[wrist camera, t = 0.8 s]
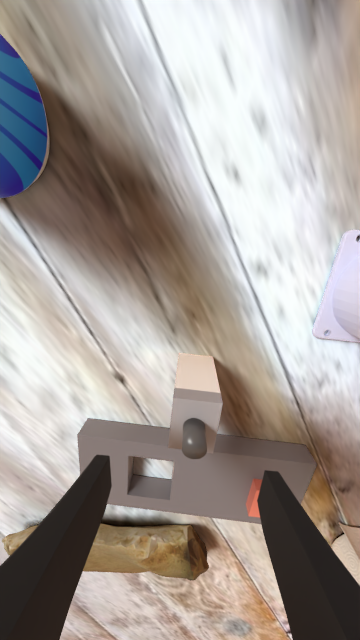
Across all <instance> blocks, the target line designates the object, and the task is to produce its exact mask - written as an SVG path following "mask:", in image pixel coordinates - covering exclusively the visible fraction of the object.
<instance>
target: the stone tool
mask: <svg viewBox="0 0 360 640" xmlns="http://www.w3.org/2000/svg"><path fill="white" fill-rule="evenodd" d="M37 526H38V525H36V526H32V527H29V528H27V529H25V530H23V531H21V532H18V533H14V534H10V535H8V536H6V537H5V538H3V539H2V542H3V543H4V549H5V550H6V552H7V553H8V554H9V555H11V554H12V553H13V552H14V551H15V550H16V549H17V548H18V547H19V546H20V545H21V544H22V543H23V542H24V541H25V540H26V538H27V537H28V536H29V535H30V534H31V533H32V532H33V531H34V530H35V528H36V527H37ZM208 568H209V565H208V563H207V550H206V547H205V544H204V543H203V542H202V541H201V539H200V538H199V536H198V535H197V533H196V532H195V530H194V529H193V527H192V526H191V525H186V526H185V525H160V526H140V527H121V526H111V525H106V524H100V526H99V529H98V532H97V534H96V537H95V540H94V542H93V545H92V548H91V550H90V553H89V555H88V558H87V561H86V563H85V566H84V569H83V571H88V572H89V571H92V572H93V571H97V572H119V573H141V572H147V571H151V572H153V573H155V574H158V575H160V576H165V577H175V578H186V579H189V580H195V579H196V578H197V577H198V576H199V575H200V574H202V573H204V572H206V571H207V569H208Z"/></svg>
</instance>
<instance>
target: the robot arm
mask: <svg viewBox="0 0 360 640" xmlns="http://www.w3.org/2000/svg"><path fill="white" fill-rule="evenodd" d="M358 235H359V236H360V230H349V231H347V232H345V233H344V234H343V236H342V239H341V242H340V245H339V248H338V251H337V254H336V257H335V261H334V264H333V267H332V270H331V273H330V276H329V279H328V282H327V286H326V289H325V292H324V295H323V298H322V301H321V304H320V308H319V311H318V314H317V317H316V320H315V323H314V326H313V330H312V334H313V335H314V336H315V337H317V338H323V339H332V340H341V341H350V342H359V343H360V239H359V241H358V242H357V241H356V238H357V236H358ZM326 330H328V332H327V333H326V334H324V332H325V331H326ZM111 487H112V482H111V468H110V456H107V455H96V456H94V458H93V459H92V461H91V462H90V463H89V465H88V466H87V467H86V468H85V470H84V471H83V472H82V474H81V475H80V476H79V478H78V479H77V480H76V481H75V483H74V484H73V485H72V486H71V488H70V489H69V490H68V491H67V492H66V494H65V495H64V496H63V497H62V498H61V500H60V501H59V502H58V503H57V504H56V506H55V507H54V508H53V509H52V510H51V512H50V513H49V514H48V515H47V516H46V517H45V518H44V519H43V521H42V522H41V523H40V524H39V525H38V526H37V527H36V528H35V530H34V531H33V532H32V533H31V534H30V535H29V536H28V537H27V538H26V540H25V541H24V542H23V543H22V544H21V545H20V546H19V547H18V548H17V549H16V550H15V551H14V552H13V553H12V554H11V555H10V556H9V558H8V559H7V560H6V561H5V562H4V563H3V564H2V565H1V566H0V640H59V639H60V636H61V632H62V629H63V626H64V623H65V620H66V616H67V613H68V610H69V607H70V604H71V601H72V599H73V596H74V593H75V590H76V587H77V585H78V582H79V579H80V577H81V574H82V571H83V569H84V566H85V563H86V561H87V558H88V555H89V553H90V550H91V548H92V545H93V542H94V540H95V537H96V534H97V532H98V529H99V526H100V524H101V521H102V518H103V515H104V512H105V509H106V505H107V502H108V498H109V495H110V491H111ZM257 503H258V508H259V514H260V519H261V524H262V529H263V533H264V537H265V540H266V544H267V548H268V551H269V555H270V558H271V562H272V565H273V569H274V572H275V576H276V579H277V583H278V586H279V590H280V593H281V597H282V600H283V604H284V607H285V611H286V614H287V618H288V622H289V626H290V630H291V634H292V638H293V640H360V585H359V584H358V582H357V581H356V580H355V579H354V577H353V576H352V575H351V573H350V572H349V571H348V570H347V568H346V567H345V566H344V564H343V563H342V562H341V560H340V559H339V558H338V556H337V555H336V554H335V552H334V551H333V550H332V548H331V547H330V546H329V544H328V543H327V541H326V540H325V539H324V537H323V536H322V534H321V533H320V532H319V530H318V529H317V527H316V526H315V525H314V523H313V522H312V520H311V519H310V517H309V516H308V515H307V513H306V512H305V510H304V509H303V507H302V506H301V504H300V503H299V501H298V500H297V498H296V497H295V495H294V494H293V492H292V491H291V489H290V488H289V486H288V485H287V483H286V482H285V480H284V479H283V477H282V476H281V474H280V473H279V472H278V471H268V470H265V471H264V475H263V479H262V483H261V487H260V491H259V495H258V499H257Z"/></svg>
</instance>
